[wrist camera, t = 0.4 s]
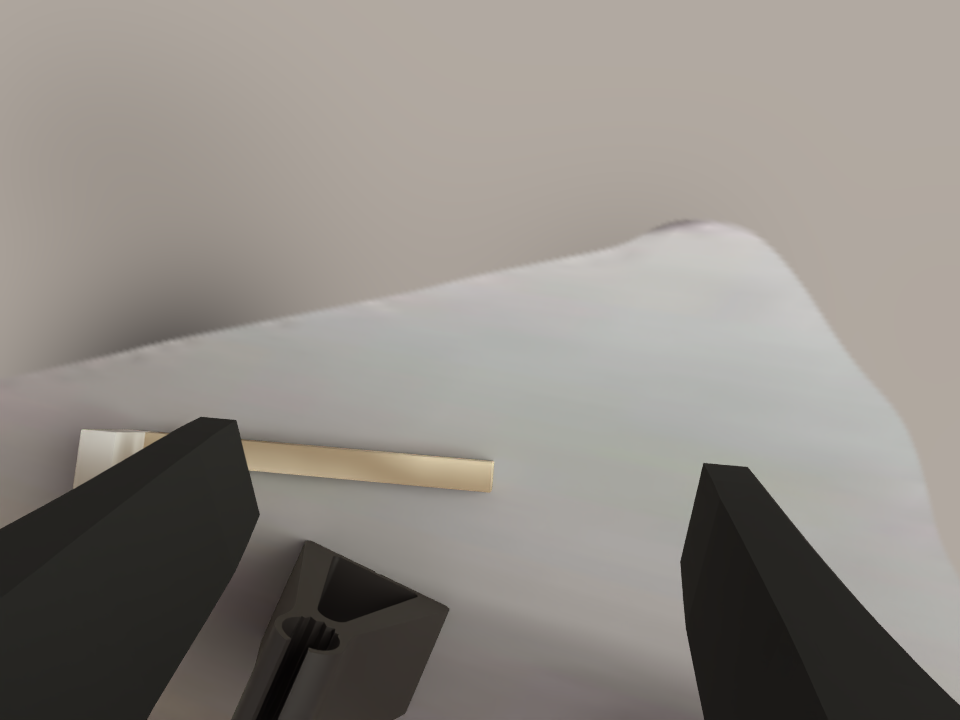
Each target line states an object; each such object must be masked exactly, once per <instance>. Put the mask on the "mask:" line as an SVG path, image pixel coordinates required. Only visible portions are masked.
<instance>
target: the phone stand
mask: <svg viewBox="0 0 960 720" xmlns="http://www.w3.org/2000/svg"><path fill="white" fill-rule="evenodd" d="M448 612H449V608H448V607H447V606H445V605H443V604H441V603H439V602H437V601H435V600H433V599H431V598H429V597H426V596H424V595H422V594H420V593H418V592H416V591H414V590H412V589H410V588H408V587H406V586H404V585H402V584H400V583H397V582H395V581H393V580H391V579H389V578H387V577H385V576H383V575H379V574H377V573H375V571H373V570H371V569H368V568H366V567H364V566H362V565H360V564H358V563H356V562H354V561H352V560H350V559H348V558H346V557H344V556H342V555H339V554H337V553H335V552H333V551H331V550H329V549H327V548H325V547H323V546H321V545H319V544H317V543H315V542H312V541H308V540H307V541H306V542H305V544H304V546H303V548H302V551H301V553H300V555H299V557H298V560H297V562H296V564H295V566H294V569H293V571H292V573H291V575H290V578H289V580H288V582H287V584H286V587H285V589H284V591H283V593H282V596H281V598H280V600H279V602H278V605H277V607H276V609H275V611H274V614H273V616H272V618H271V620H270V622H269V625H268V627H267V629H266V631H265V634H264V636H263V638H262V640H261V644H260V648H259V652H258V656H257V660H256V664H255V667H254V670H253V672H252V674H251V676H250V679H249V681H248V683H247V685H246V688H245V690H244V692H243V694H242V697H241V699H240V701H239V703H238V706H237V708H236V710H235V712H234V715H233V717H232V719H231V720H394V719H396V718H398V717H400V716H402V715H403V714H405V713H406V711H407V708H408V706H409V703H410V701H411V699H412V696H413V694H414V692H415V689H416V687H417V685H418V682H419V680H420V678H421V675H422V673H423V671H424V668H425V666H426V664H427V661H428V659H429V656H430V654H431V652H432V649H433V647H434V645H435V642H436V640H437V638H438V635H439V633H440V631H441V628H442V626H443V624H444V621H445V619H446V616H447V614H448Z"/></svg>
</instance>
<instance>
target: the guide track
mask: <svg viewBox="0 0 960 720" xmlns="http://www.w3.org/2000/svg"><path fill="white" fill-rule="evenodd" d="M167 434H169V433H163V432H152V431H140V430H112V429H81V435H80V442H79V449H78V456H77V463H76V469H75V476H74V483H73V489H74V488H76V487H78V486H80V485H81V484H83V483H85V482H87V481H88V480H90V479H92V478H93V477H95V476H97V475H99V474H100V473H102V472H104V471H105V470H107V469H109V468H111V467H112V466H114V465H116V464H118V463H119V462H121V461H123V460H124V459H126V458H128V457H129V456H131V455H133V454H135V453H136V452H138V451H140V450H141V449H143V448H145V447H147V446H148V445H150V444H152V443H153V442H155V441H157V440H159V439H160V438H162V437H164V436H166V435H167ZM241 441H242V445H243V449H244V453H245V457H246V461H247V465H248V470H251V471H262V472H272V473H283V474H294V475H305V476H316V477H327V478H338V479H349V480H360V481H370V482H381V483H392V484H403V485H414V486H425V487H436V488H447V489H457V490H468V491H479V492H491V490H492V482H493V469H494V461H486V460H474V459H463V458H451V457H440V456H428V455H417V454H405V453H394V452H382V451H371V450H359V449H348V448H336V447H325V446H313V445H302V444H290V443H279V442H267V441H256V440H244V439H241Z"/></svg>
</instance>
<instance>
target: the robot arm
mask: <svg viewBox="0 0 960 720" xmlns="http://www.w3.org/2000/svg"><path fill="white" fill-rule="evenodd" d="M259 515H260V514H259V510H258V506H257V502H256V498H255V494H254V490H253V486H252V482H251V478H250V474H249V470H248V465H247V461H246V457H245V453H244V449H243V445H242V441H241V437H240V433H239V429H238V425H237V421H236V420H229V419H218V418H207V417H200V418H198V419H196V420H194V421H192V422H190V423H188V424H186V425H184V426H182V427H180V428H178V429H176V430H175V431H173V432H171V433H169V434H167V435H166V436H164V437H162V438H160V439H159V440H157V441H155V442H153V443H152V444H150V445H148V446H147V447H145V448H143V449H141V450H140V451H138V452H136V453H135V454H133V455H131V456H129V457H128V458H126V459H124V460H123V461H121V462H119V463H118V464H116V465H114V466H112V467H111V468H109V469H107V470H105V471H104V472H102V473H100V474H99V475H97V476H95V477H93V478H92V479H90V480H88V481H87V482H85V483H83V484H81V485H80V486H78V487H76V488H74V489H73V490H71V491H69V492H68V493H66V494H64V495H62V496H61V497H59V498H57V499H55V500H53V501H51V502H49V503H48V504H46V505H44V506H42V507H40V508H38V509H37V510H35V511H33V512H31V513H29V514H27V515H25V516H24V517H22V518H20V519H18V520H16V521H14V522H13V523H11V524H9V525H7V526H5V527H3V528H1V529H0V720H147V718H148V716H149V715H150V713H151V711H152V709H153V707H154V706H155V704H156V702H157V701H158V699H159V697H160V696H161V694H162V692H163V691H164V689H165V688H166V686H167V684H168V683H169V681H170V679H171V678H172V676H173V674H174V673H175V671H176V669H177V668H178V666H179V664H180V663H181V661H182V660H183V658H184V656H185V655H186V653H187V651H188V650H189V648H190V646H191V645H192V643H193V641H194V640H195V638H196V636H197V635H198V633H199V632H200V630H201V628H202V627H203V625H204V623H205V622H206V620H207V618H208V617H209V615H210V613H211V612H212V610H213V608H214V607H215V605H216V603H217V602H218V600H219V598H220V597H221V595H222V593H223V591H224V590H225V588H226V586H227V585H228V583H229V581H230V579H231V578H232V576H233V574H234V573H235V570H236V568H237V566H238V564H239V562H240V560H241V557H242V555H243V553H244V551H245V549H246V546H247V544H248V542H249V539H250V537H251V535H252V532H253V530H254V527H255V525H256V523H257V520H258V518H259ZM680 563H681V576H682V589H683V601H684V612H685V623H686V631H687V636H688V641H689V646H690V651H691V656H692V661H693V666H694V671H695V676H696V681H697V686H698V691H699V696H700V701H701V706H702V710H703V715H704V720H960V705H959V704H958V703H957V702H956V701H955V700H954V699H952V698H951V697H950V696H949V695H948V694H947V693H946V692H945V691H944V690H943V689H942V688H941V687H940V686H939V685H938V684H937V683H936V682H935V681H934V680H933V679H932V678H931V677H930V676H929V675H928V674H927V673H926V672H925V671H924V670H923V669H922V668H921V667H920V666H919V665H918V664H917V663H916V662H915V661H914V660H913V659H912V658H911V657H910V656H909V654H908V653H907V652H906V651H905V650H904V649H903V648H902V647H901V646H900V645H899V644H898V643H897V642H896V641H895V640H894V639H893V638H892V637H891V636H890V635H889V634H888V632H887V631H886V630H885V629H884V628H883V627H882V626H881V625H880V624H879V623H878V622H877V621H876V620H875V619H874V617H873V616H872V615H871V614H870V613H869V612H868V611H867V610H866V609H865V608H864V606H863V605H862V604H861V603H860V602H859V601H858V600H857V599H856V597H855V596H854V595H853V594H852V593H851V592H850V591H849V589H848V588H847V587H846V586H845V585H844V584H843V582H842V581H841V580H840V579H839V578H838V577H837V576H836V574H835V573H834V572H833V571H832V570H831V569H830V567H829V566H828V565H827V564H826V563H825V562H824V560H823V559H822V558H821V557H820V556H819V555H818V553H817V552H816V551H815V550H814V549H813V547H812V546H811V545H810V544H809V542H808V541H807V540H806V539H805V538H804V536H803V535H802V534H801V533H800V531H799V530H798V529H797V528H796V527H795V525H794V524H793V523H792V522H791V520H790V519H789V518H788V517H787V515H786V514H785V513H784V512H783V510H782V509H781V508H780V507H779V505H778V504H777V503H776V502H775V500H774V499H773V498H772V497H771V495H770V494H769V493H768V492H767V490H766V489H765V488H764V487H763V485H762V484H761V483H760V482H759V480H758V479H757V478H756V477H755V475H754V474H753V473H752V472H751V471H750V469H749V468H748V467H741V466H730V465H719V464H708V463H703V467H702V472H701V476H700V480H699V484H698V489H697V493H696V497H695V502H694V506H693V510H692V514H691V519H690V523H689V527H688V531H687V536H686V540H685V544H684V549H683V553H682V557H681V561H680Z"/></svg>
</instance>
